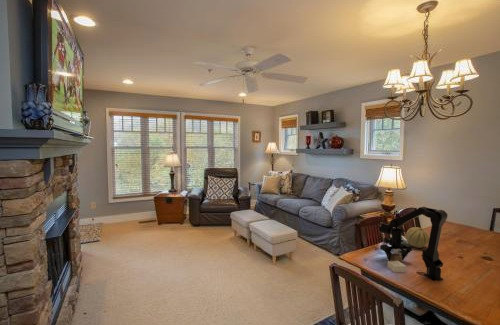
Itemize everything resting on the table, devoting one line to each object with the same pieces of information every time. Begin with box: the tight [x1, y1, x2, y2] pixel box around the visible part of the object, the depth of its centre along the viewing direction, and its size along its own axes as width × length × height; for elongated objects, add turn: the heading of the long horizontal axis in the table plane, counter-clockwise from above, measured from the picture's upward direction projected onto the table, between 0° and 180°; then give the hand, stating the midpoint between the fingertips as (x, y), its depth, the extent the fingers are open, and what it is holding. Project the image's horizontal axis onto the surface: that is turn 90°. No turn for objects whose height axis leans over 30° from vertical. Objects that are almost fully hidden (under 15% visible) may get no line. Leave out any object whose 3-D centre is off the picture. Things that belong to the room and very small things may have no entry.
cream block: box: [386, 261, 407, 273], centre depth 155 cm, size 7×7×4 cm
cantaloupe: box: [405, 226, 430, 249], centre depth 188 cm, size 15×15×15 cm
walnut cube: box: [390, 252, 403, 264], centre depth 165 cm, size 5×5×5 cm
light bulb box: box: [392, 235, 409, 255], centre depth 180 cm, size 11×7×11 cm, turn 168°
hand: (395, 260), depth 165 cm, fingers open, 9 cm apart
